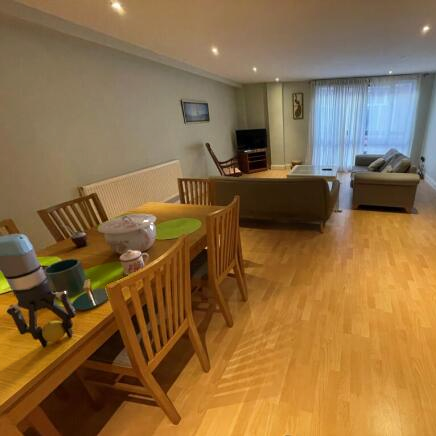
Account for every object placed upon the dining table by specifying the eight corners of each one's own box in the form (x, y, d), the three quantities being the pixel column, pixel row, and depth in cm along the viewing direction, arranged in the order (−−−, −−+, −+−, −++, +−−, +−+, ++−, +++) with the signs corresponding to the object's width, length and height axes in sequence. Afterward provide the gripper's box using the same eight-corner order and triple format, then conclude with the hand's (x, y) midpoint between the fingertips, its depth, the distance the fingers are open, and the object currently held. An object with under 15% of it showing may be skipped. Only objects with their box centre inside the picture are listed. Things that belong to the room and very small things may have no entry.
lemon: (63, 331, 84) (55, 313, 81) (73, 336, 82) (64, 318, 79) (43, 343, 80) (33, 325, 77) (53, 349, 78) (43, 331, 75)
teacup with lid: (129, 278, 112) (122, 257, 108) (120, 272, 117) (114, 251, 113) (155, 267, 121) (149, 246, 117) (146, 261, 126) (140, 242, 122)
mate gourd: (92, 242, 146) (84, 220, 140) (80, 249, 139) (71, 225, 133) (81, 242, 147) (72, 219, 141) (69, 248, 139) (59, 225, 134)
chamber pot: (116, 241, 147) (106, 210, 139) (165, 235, 155) (158, 205, 147) (98, 266, 122) (84, 229, 114) (157, 257, 130) (148, 222, 122)
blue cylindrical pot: (52, 303, 98) (39, 277, 93) (57, 287, 106) (46, 263, 102) (88, 292, 103) (78, 268, 99) (90, 279, 112) (81, 255, 108)
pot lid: (70, 316, 91) (62, 298, 88) (75, 297, 101) (68, 280, 98) (111, 303, 97) (105, 286, 94) (112, 286, 107) (106, 270, 104)
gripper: (72, 267, 80) (94, 320, 89) (-11, 287, 70) (23, 344, 79) (68, 279, 74) (92, 334, 83) (-23, 302, 65) (15, 362, 73)
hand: (58, 339), depth 81 cm, fingers open, 6 cm apart
